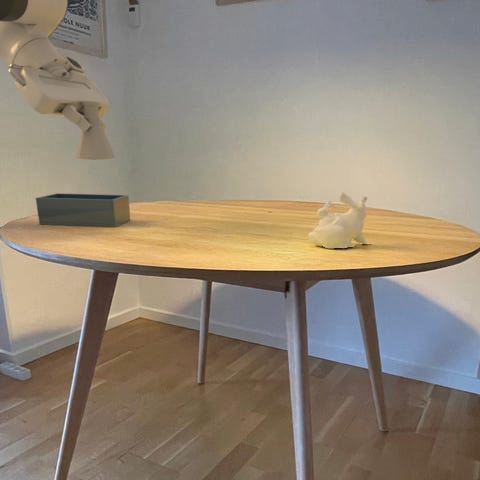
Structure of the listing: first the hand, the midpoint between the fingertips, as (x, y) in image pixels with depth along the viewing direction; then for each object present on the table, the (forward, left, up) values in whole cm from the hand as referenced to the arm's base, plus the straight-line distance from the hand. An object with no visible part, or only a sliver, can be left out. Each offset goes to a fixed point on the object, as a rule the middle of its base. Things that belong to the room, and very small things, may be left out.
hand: (95, 129), depth 87 cm
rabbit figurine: (+47, -6, -19) cm, 51 cm away
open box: (-9, +10, -19) cm, 23 cm away
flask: (-1, 0, -6) cm, 6 cm away
